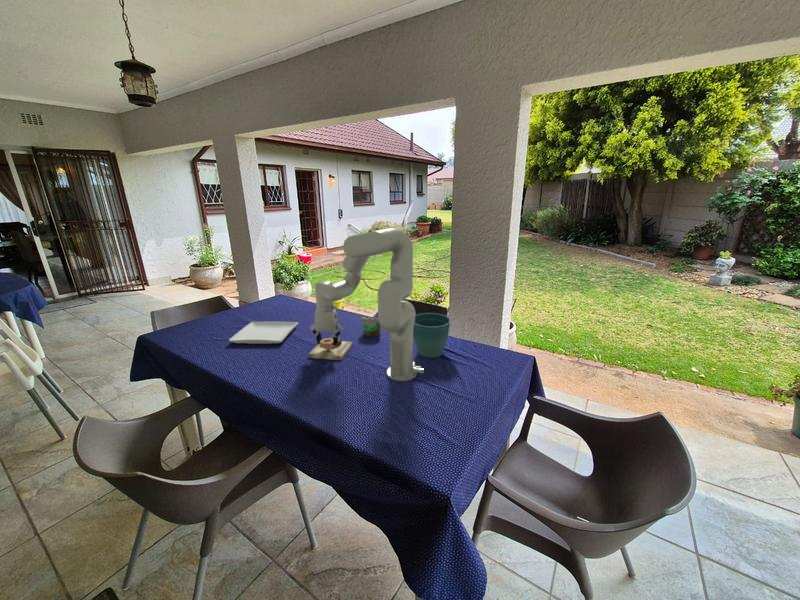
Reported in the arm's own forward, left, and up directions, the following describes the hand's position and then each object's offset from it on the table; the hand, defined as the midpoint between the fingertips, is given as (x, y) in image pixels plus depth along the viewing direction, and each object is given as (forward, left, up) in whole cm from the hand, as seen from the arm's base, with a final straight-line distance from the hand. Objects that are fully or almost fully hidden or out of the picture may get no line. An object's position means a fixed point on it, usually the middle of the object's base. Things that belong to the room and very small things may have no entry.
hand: (327, 343), depth 157 cm
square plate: (+42, -17, -6) cm, 45 cm away
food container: (-13, -26, -6) cm, 30 cm away
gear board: (0, -4, -6) cm, 7 cm away
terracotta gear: (0, 0, -1) cm, 1 cm away
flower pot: (-47, -10, -6) cm, 49 cm away
